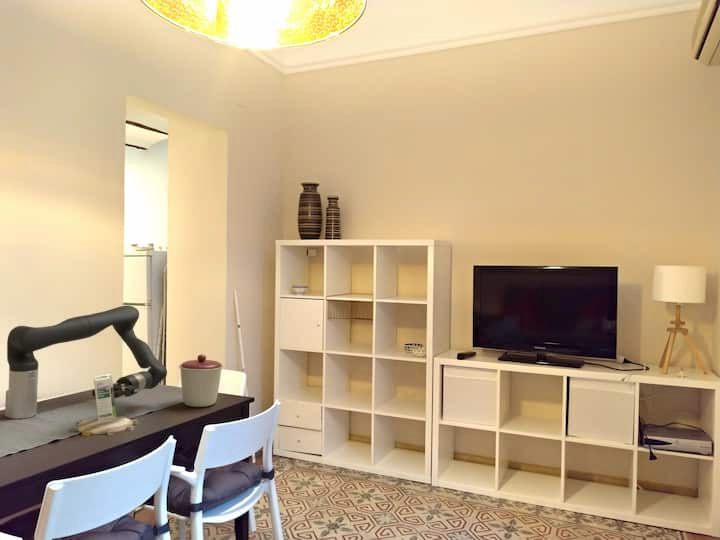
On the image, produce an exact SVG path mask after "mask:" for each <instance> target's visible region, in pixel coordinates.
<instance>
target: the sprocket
mask: <svg viewBox="0 0 720 540" xmlns="http://www.w3.org/2000/svg"><path fill="white" fill-rule="evenodd" d="M77 424H78V425H77ZM138 424H139V420H138V419H130V418H127V416H126V415H125V416H124V415H120V416H116V417H111V418H105V419H101V420H99V419H98V416H96V417H95V418H91V419H87V420H86V419H85V420H83V419H82V420H78V421H76V425H77V426H70V427H71V428H70V431H71V430H72V431H71V432H79V433H81V434H82V435H81V436H87V437H89V436H91V435H107V436H114V435H115V434H116V433H121V431H122V432H124V431H134V430H135V426H134V425H138ZM76 430H78V431H76Z"/></svg>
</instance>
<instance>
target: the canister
mask: <svg viewBox="0 0 720 540" xmlns="http://www.w3.org/2000/svg"><path fill="white" fill-rule="evenodd" d="M178 368H179V369H180V381H181V382H180V383H181V395H182V401H183V404H184V405H186V406H188V407H193V408H203V407H204V408H205V407H209V406H212V405H214V404H215V403H216V401H217V399H218V393H219V388H220V382H221V374H222V370H223V368H224V365H223V364H222V363H221V362H220V361H218V360H212V359H207V356H206V355H205V354H199V355H198V356H197V358H196V359H192V360H191V359H190V360H186V361H184V362H182V363H181V364H179V365H178Z"/></svg>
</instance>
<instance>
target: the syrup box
mask: <svg viewBox="0 0 720 540" xmlns="http://www.w3.org/2000/svg"><path fill="white" fill-rule="evenodd" d="M113 383H114V382H113V376H112V373H108V374H103V375H97V376H94V375H93V385H94V390H95V395H96V396H95V403H96V404H95V405H96V413H97V417H98V419H99V420H101V419H105V418H111V417H117V415H116V414H117V413H116V412H117V411H116V403H115V398H114V391H113Z"/></svg>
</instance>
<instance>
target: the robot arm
mask: <svg viewBox="0 0 720 540" xmlns="http://www.w3.org/2000/svg"><path fill="white" fill-rule="evenodd" d="M139 318H140V311H139V310H138V309H137V307H135V306H132V305H120V306H118V307H114V308H111V309H108V310H105V311H104V310H103V311H99V312H96V313H91V314H85V315H79V316H78V315H77V316H74V317H70V318H67V319H65V320H63V321H62V322H59V323H57V324H55V325H54V324H53V325H48V326H41V327H39V326H38V327H33V326H28V325H27V326H26V325H18V326H15V327H14V328H13V329H11V330H10V332H9V333H8V337H7V340H6V359H7V360H6V361H7V364H8V366H9V367H8V389H7V390H6V391H5V404H4V405H5V408H4V417H7V418H9V419H14V420H15V419H17V420H19V419H20V418H21V419H28V418H32V417H34V415H35V416H36V415H37V407H38V406H37V405H38V385H39V383H38V382H39V361H38V360H37V359H36V357H35V355H34V352H37V351H39V350H43V349H45V348H48V347H51V346H55V345H57V344H62V343H69V342H75V341H79V340H83V339H84V340H85V339H88V338H91V337H94V336H96V335H97V334H99V333H101V332H103V331H104V330H105V329H107V328H109V327H111V326H112V327H113V329H114V330H115V332H116V333H117V334H118V336H119V337H120V339H121V340H122V341H123V342H124V343H125V345H126V346H127V347H128V349H129V350H130V352H131V353H132V355H133V357H134V359H135V361H136V363H137V365H138V366H139V368H141V369H146V371H145V370H142V371H138V372H136V373H131V374H128V375H124V376H122V377H119V378H118V379H117V380H116V381H115V382H113V391H114V399H118V398H120V397H123V398H127V397H131V396H134V395H136V394H138V393H140V392H141V391H143V390H152V389H154V388H156V387H157V386H158V385H159V384H160V383H161V382H162V381H163V380H164V379H165V378H166V377H167V375H168V370H167V367H166V366H165V365H163V364H162V362H160V360H159V359H157V358H156V357H155V355H154V353H153V351H152V350H151V349H152V348H150V346H149V344H148V343H146V342H145V341H143V340H142V339H140V338H138V337H137V336H136V334H135V331H134V328H135V326H136V324H137V322H138V320H139ZM147 369H148V370H147ZM91 395H92V397H96V395H95V389H93V390H92V391H91ZM21 419H20V420H21Z"/></svg>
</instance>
